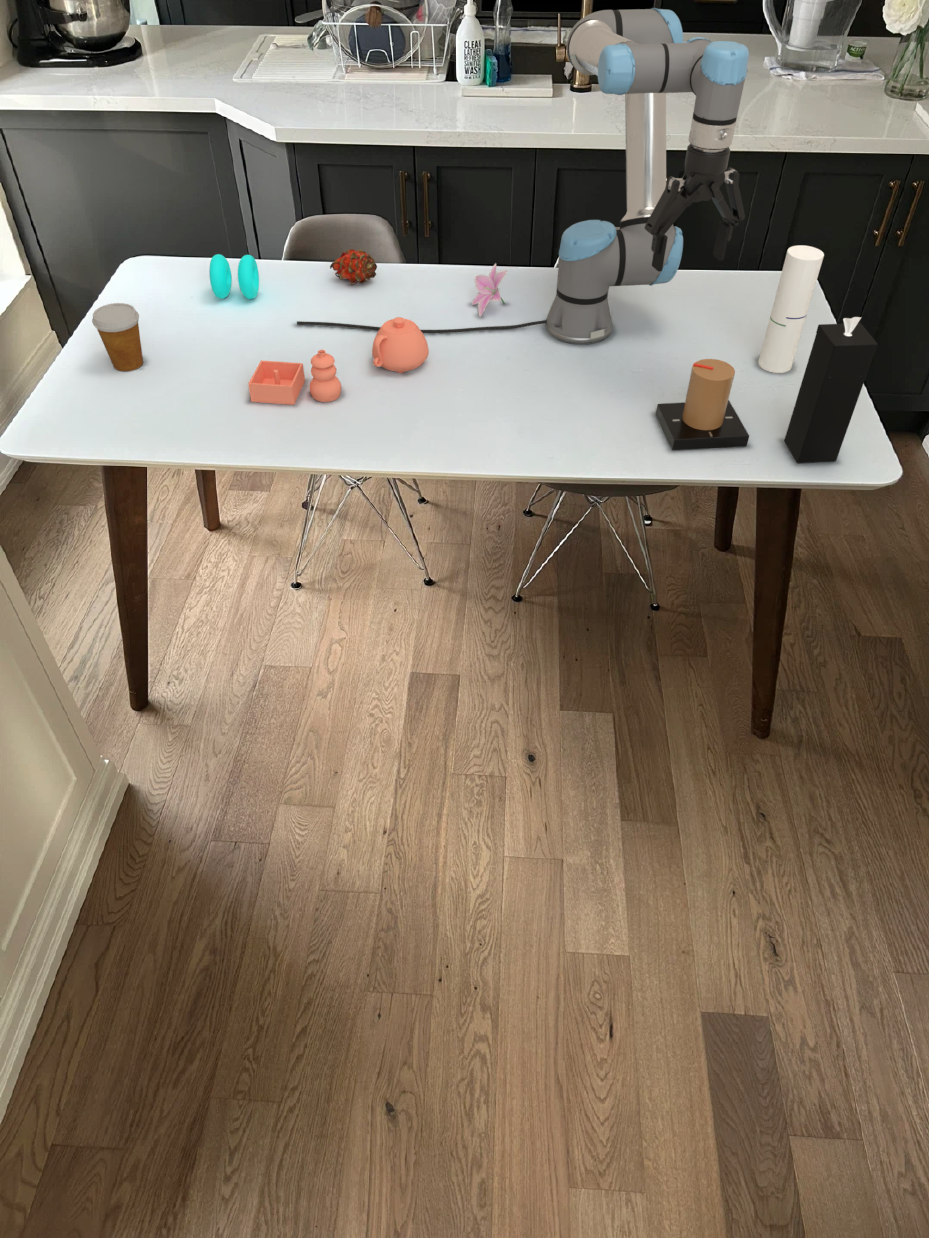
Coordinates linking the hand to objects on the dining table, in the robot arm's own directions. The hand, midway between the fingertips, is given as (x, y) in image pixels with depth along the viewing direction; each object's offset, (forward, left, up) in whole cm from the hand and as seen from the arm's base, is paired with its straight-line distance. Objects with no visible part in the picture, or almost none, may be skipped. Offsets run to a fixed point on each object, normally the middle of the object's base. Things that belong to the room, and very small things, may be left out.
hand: (687, 263), depth 177 cm
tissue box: (+28, -20, -27) cm, 44 cm away
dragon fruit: (-77, +37, -27) cm, 90 cm away
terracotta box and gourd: (-76, -16, -27) cm, 82 cm away
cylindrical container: (+24, +13, -27) cm, 38 cm away
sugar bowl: (-58, -1, -27) cm, 64 cm away
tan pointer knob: (+7, -16, -24) cm, 30 cm away
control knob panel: (+7, -16, -27) cm, 32 cm away
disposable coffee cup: (-116, -11, -27) cm, 120 cm away
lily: (-42, +29, -27) cm, 58 cm away
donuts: (-103, +24, -27) cm, 109 cm away
